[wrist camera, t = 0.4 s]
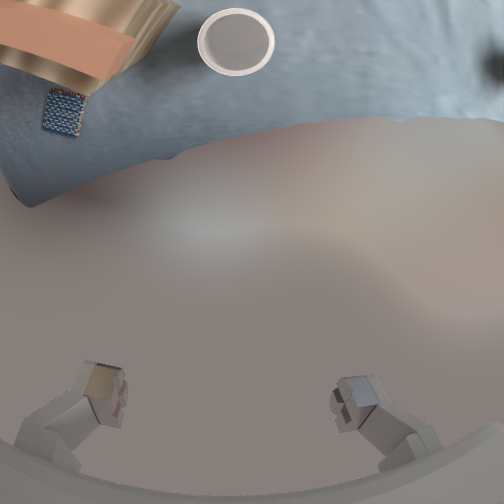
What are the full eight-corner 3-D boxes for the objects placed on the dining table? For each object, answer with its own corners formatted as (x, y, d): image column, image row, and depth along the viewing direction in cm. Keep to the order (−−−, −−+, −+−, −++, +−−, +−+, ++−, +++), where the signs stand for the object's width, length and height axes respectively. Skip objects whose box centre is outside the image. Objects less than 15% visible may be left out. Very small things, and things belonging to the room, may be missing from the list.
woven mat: (90, 94, 44) (86, 97, 42) (80, 136, 50) (76, 140, 49) (51, 85, 39) (47, 88, 38) (44, 126, 46) (40, 130, 44)
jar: (194, 26, 37) (183, 29, 27) (247, 2, 34) (255, -4, 24) (221, 69, 44) (220, 88, 34) (272, 47, 41) (288, 59, 32)
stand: (80, 30, 32) (-6, 61, 15) (111, -22, 25) (31, -30, 8) (145, 57, 40) (88, 96, 23) (180, 6, 33) (141, 0, 16)
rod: (-38, 23, 7) (-58, 31, 5) (-28, -4, 5) (-48, 1, 3) (117, 71, 22) (103, 81, 19) (136, 39, 19) (123, 43, 17)
